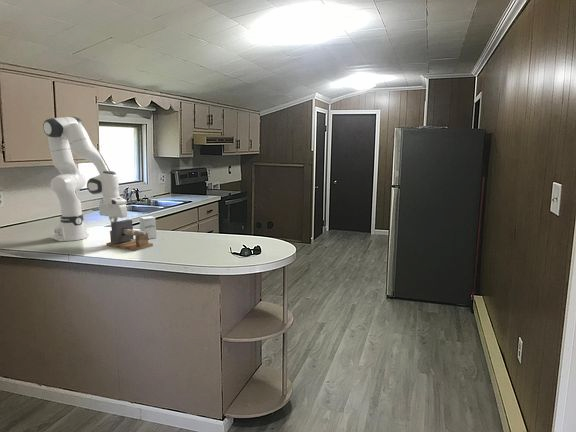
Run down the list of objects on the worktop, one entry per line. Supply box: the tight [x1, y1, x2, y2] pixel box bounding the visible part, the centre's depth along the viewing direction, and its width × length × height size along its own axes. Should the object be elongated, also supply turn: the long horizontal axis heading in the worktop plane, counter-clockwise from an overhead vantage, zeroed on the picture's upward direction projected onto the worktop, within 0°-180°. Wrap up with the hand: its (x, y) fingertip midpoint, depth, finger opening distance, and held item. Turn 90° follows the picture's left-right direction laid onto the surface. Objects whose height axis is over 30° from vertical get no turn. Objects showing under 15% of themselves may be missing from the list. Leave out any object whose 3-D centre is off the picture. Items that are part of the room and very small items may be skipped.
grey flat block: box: [110, 218, 135, 243], centre depth 256 cm, size 4×11×11 cm, turn 148°
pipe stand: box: [105, 228, 154, 252], centre depth 254 cm, size 24×12×10 cm, turn 58°
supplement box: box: [139, 215, 158, 240], centre depth 273 cm, size 7×7×13 cm
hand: (113, 224), depth 259 cm, fingers closed
